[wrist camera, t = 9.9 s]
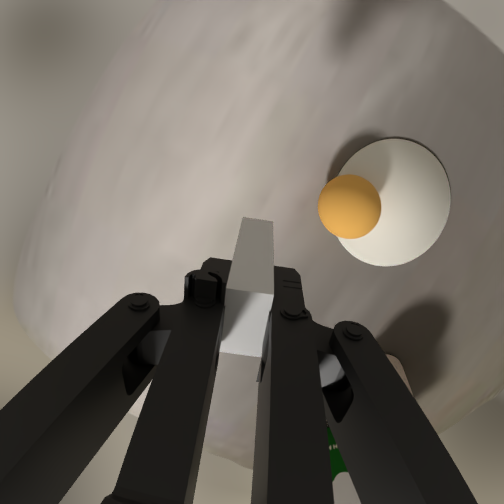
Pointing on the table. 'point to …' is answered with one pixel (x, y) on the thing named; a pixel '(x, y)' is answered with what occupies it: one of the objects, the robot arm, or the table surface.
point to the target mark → (400, 201)
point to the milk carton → (340, 476)
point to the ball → (349, 206)
